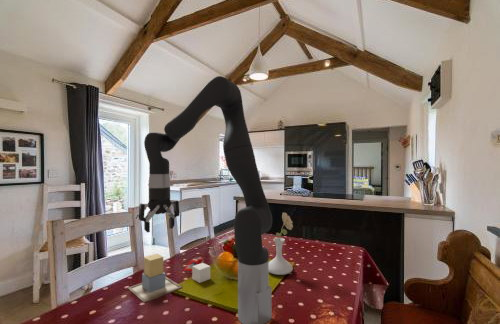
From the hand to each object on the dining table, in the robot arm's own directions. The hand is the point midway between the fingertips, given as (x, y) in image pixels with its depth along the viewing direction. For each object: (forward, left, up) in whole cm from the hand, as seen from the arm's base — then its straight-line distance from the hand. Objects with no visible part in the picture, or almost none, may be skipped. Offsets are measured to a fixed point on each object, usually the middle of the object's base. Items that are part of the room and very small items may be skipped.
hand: (159, 230), depth 93 cm
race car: (+6, -19, -22) cm, 30 cm away
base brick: (+1, +2, -21) cm, 21 cm away
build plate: (0, +2, -22) cm, 22 cm away
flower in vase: (-23, -43, -22) cm, 54 cm away
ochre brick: (+1, +2, -16) cm, 16 cm away
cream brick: (-6, -14, -22) cm, 27 cm away
